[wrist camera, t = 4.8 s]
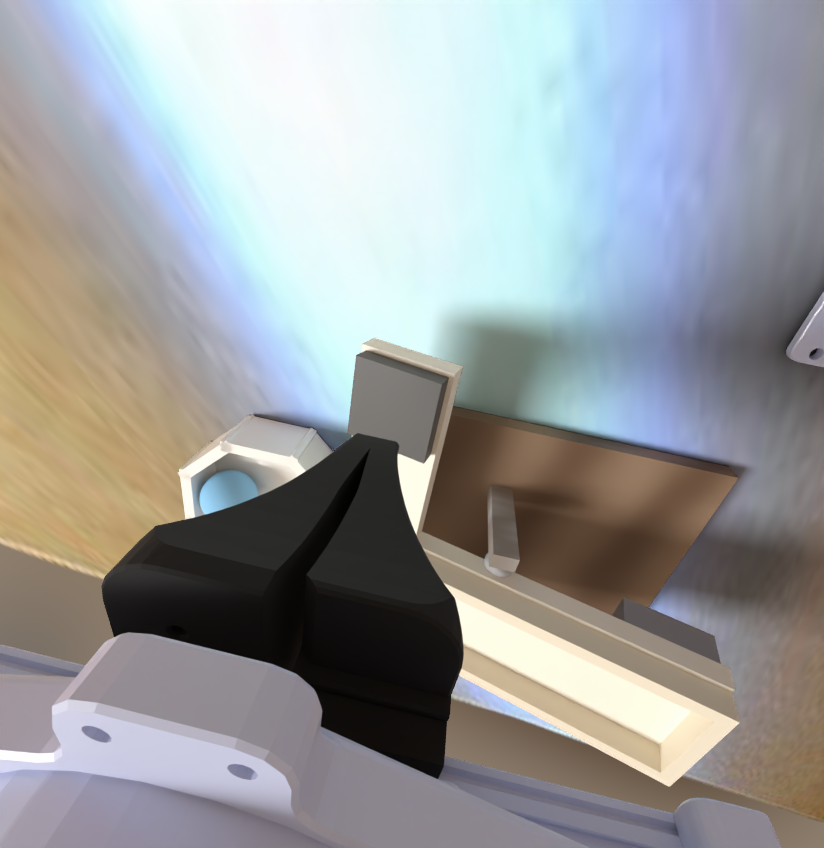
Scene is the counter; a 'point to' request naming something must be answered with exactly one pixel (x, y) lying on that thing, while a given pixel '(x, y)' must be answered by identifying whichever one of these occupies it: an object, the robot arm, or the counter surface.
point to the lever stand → (570, 506)
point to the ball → (226, 491)
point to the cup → (253, 457)
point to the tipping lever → (547, 606)
